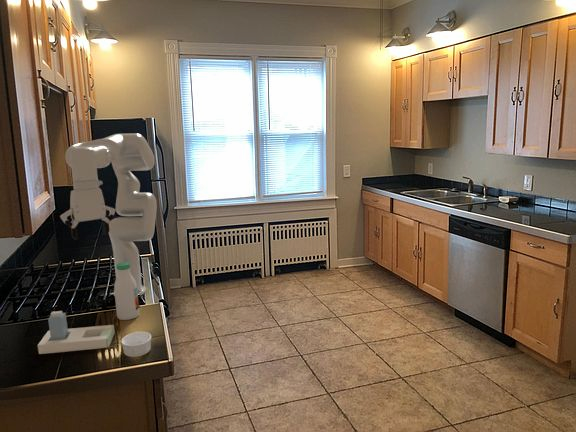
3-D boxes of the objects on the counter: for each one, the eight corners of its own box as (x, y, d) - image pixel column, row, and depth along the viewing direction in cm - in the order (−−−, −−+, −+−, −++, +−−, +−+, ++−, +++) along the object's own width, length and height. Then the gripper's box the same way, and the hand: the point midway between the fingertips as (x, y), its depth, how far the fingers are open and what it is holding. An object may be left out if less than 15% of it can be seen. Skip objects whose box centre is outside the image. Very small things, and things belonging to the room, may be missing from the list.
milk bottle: (132, 321, 167) (127, 267, 162) (113, 320, 168) (107, 266, 164) (143, 312, 174) (138, 260, 170) (124, 311, 176) (119, 259, 171)
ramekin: (156, 352, 145) (154, 340, 144) (126, 361, 140) (125, 348, 139) (147, 341, 152) (146, 329, 151) (119, 349, 148) (118, 336, 147)
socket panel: (49, 338, 155) (48, 330, 155) (114, 332, 158) (113, 324, 158) (38, 354, 146) (37, 345, 145) (108, 347, 149) (107, 338, 148)
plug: (56, 342, 153) (51, 310, 150) (69, 341, 153) (64, 309, 151) (52, 348, 149) (47, 315, 146) (65, 347, 150) (61, 314, 147)
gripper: (108, 182, 161) (113, 231, 164) (54, 187, 150) (60, 239, 153) (116, 184, 156) (121, 234, 159) (60, 189, 145) (66, 243, 148)
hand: (91, 237), depth 156 cm, fingers open, 9 cm apart
